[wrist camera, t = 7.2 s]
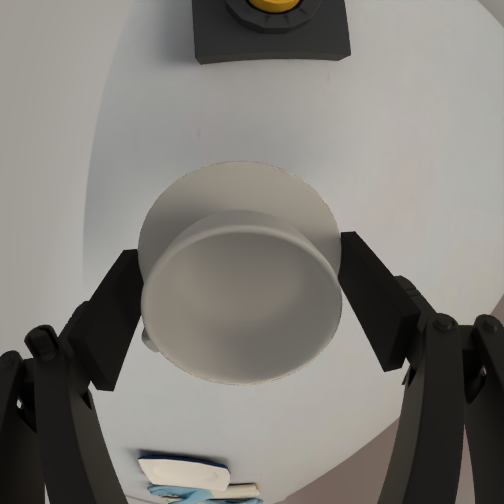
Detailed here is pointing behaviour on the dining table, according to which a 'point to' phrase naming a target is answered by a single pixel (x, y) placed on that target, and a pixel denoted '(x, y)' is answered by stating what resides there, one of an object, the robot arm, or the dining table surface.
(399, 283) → the robot arm
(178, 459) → the plate
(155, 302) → the teacup
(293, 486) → the dining table surface
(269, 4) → the yellow button cap
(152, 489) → the rubber gloves
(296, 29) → the yellow button cap base
